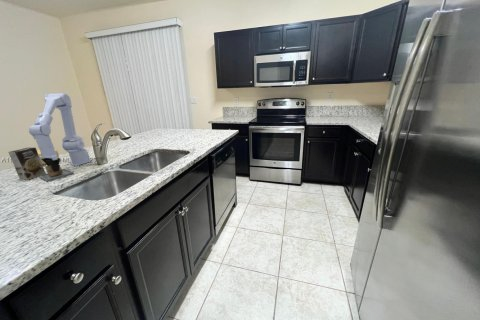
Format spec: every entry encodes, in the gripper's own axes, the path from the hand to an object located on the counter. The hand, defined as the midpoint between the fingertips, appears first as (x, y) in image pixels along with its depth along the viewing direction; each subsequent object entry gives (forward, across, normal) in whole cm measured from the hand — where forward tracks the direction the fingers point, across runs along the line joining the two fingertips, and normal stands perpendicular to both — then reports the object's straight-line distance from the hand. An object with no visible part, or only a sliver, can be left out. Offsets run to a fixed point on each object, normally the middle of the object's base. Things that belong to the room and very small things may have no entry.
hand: (55, 170), depth 113 cm
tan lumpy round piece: (+4, -35, +7) cm, 36 cm away
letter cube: (+2, 0, 0) cm, 2 cm away
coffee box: (+4, -12, -7) cm, 14 cm away
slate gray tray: (+3, 0, 0) cm, 3 cm away
